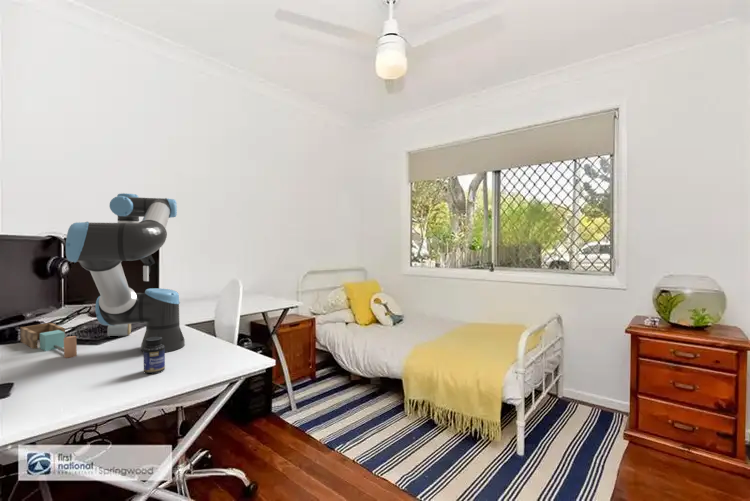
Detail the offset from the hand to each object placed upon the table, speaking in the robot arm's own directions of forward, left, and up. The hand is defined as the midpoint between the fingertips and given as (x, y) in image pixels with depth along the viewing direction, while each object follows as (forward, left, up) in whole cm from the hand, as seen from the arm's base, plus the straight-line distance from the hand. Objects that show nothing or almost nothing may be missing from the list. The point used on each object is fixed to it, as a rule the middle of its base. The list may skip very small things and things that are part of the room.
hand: (129, 282), depth 157 cm
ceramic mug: (+14, -1, -25) cm, 29 cm away
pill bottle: (-42, +11, -25) cm, 50 cm away
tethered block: (+7, +21, -25) cm, 33 cm away
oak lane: (+27, +21, -25) cm, 42 cm away
